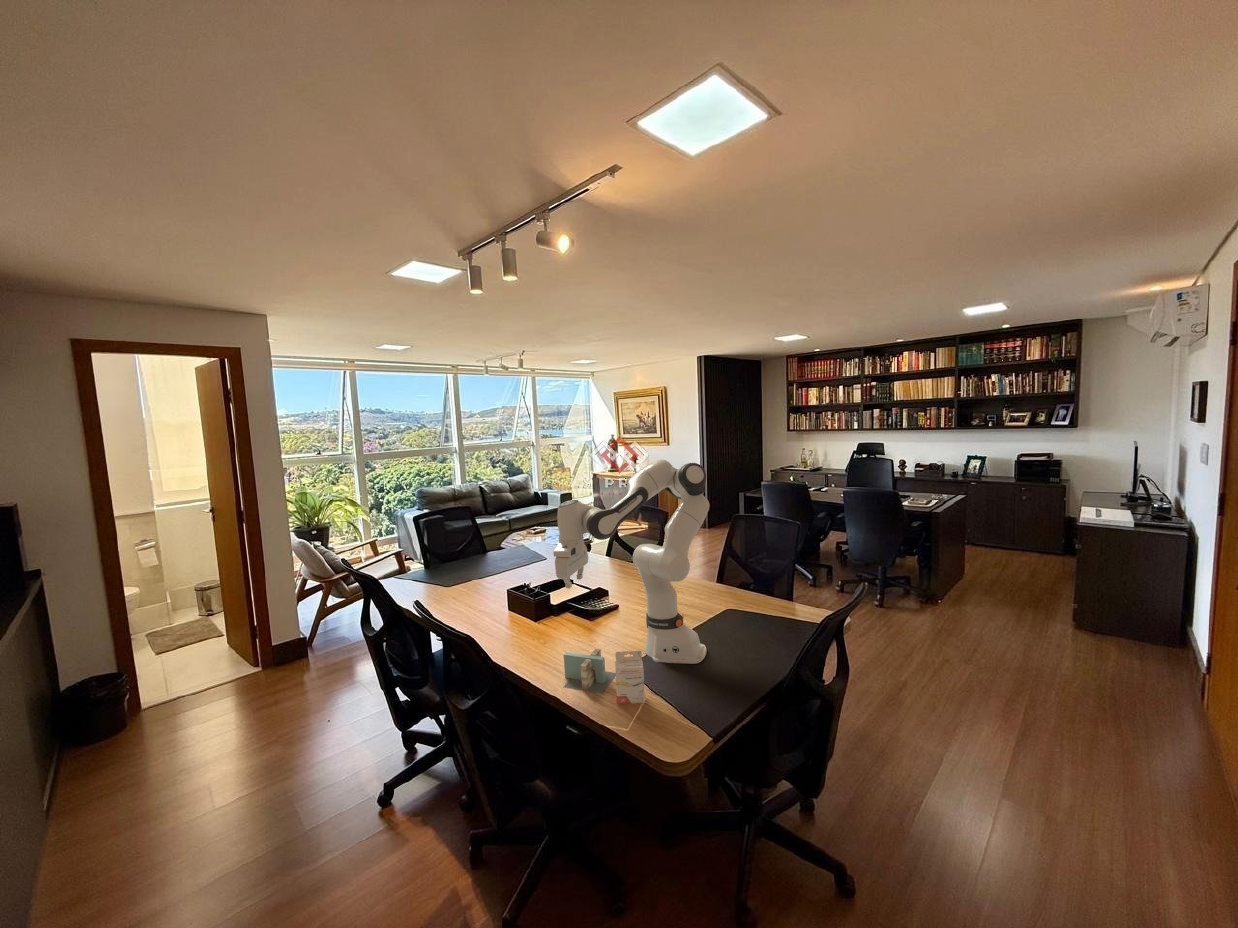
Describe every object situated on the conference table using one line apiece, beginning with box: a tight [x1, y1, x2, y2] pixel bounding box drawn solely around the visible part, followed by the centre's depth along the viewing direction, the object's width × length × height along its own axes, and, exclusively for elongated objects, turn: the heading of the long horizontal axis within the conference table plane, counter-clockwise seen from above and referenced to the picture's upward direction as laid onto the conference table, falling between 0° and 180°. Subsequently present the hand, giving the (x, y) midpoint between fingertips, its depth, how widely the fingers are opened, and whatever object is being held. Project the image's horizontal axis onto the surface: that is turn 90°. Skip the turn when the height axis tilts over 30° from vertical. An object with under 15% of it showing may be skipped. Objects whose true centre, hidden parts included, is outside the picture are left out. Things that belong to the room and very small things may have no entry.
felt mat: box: [563, 670, 616, 695], centre depth 164 cm, size 14×13×1 cm
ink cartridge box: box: [614, 650, 646, 705], centre depth 151 cm, size 9×5×15 cm, turn 92°
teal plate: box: [563, 651, 606, 683], centre depth 164 cm, size 14×2×8 cm, turn 69°
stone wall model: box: [581, 648, 602, 691], centre depth 163 cm, size 12×2×8 cm, turn 159°
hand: (574, 583), depth 178 cm, fingers open, 8 cm apart
